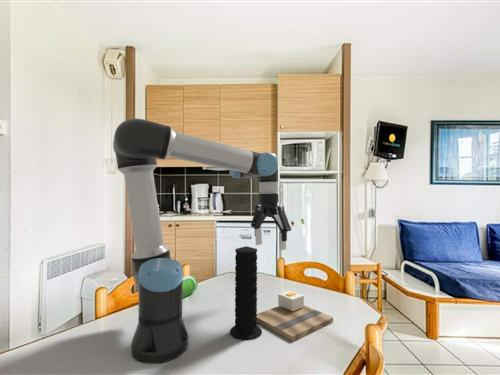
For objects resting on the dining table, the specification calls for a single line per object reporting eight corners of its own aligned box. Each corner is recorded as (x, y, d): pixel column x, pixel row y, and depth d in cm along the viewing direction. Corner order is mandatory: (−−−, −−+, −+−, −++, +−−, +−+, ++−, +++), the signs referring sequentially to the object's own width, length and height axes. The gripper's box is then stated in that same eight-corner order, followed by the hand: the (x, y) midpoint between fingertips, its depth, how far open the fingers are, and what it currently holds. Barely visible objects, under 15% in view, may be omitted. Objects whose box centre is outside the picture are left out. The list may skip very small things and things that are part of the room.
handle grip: (261, 341, 81) (262, 325, 91) (261, 249, 82) (263, 243, 92) (227, 339, 82) (232, 323, 92) (227, 249, 83) (233, 243, 92)
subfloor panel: (292, 341, 81) (292, 336, 81) (253, 319, 95) (253, 314, 95) (333, 321, 93) (333, 317, 93) (292, 304, 107) (292, 300, 107)
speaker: (167, 308, 104) (167, 288, 104) (153, 304, 108) (153, 284, 108) (198, 293, 119) (198, 276, 120) (185, 290, 123) (185, 273, 123)
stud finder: (292, 311, 97) (292, 298, 97) (278, 304, 102) (278, 292, 102) (303, 306, 101) (303, 294, 101) (289, 300, 106) (289, 289, 106)
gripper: (299, 192, 102) (301, 250, 102) (255, 192, 121) (256, 241, 121) (285, 193, 97) (287, 253, 97) (241, 193, 117) (243, 244, 117)
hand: (270, 247), depth 109 cm, fingers open, 13 cm apart
